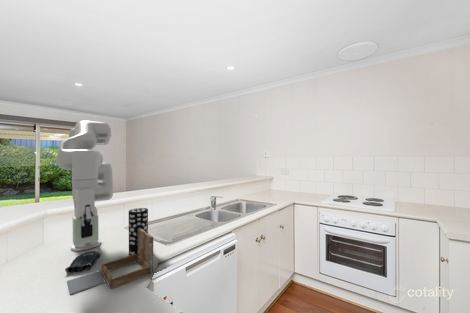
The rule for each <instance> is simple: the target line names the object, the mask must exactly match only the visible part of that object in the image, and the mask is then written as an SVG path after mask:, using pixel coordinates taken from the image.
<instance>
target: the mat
mask: <svg viewBox="0 0 470 313" xmlns="http://www.w3.org/2000/svg"><path fill="white" fill-rule="evenodd" d="M66 283H67V289H68V293H69V296H72V295H74V294H77V293H81V292H84V291H86V290H89V289H92V288H94V287H95V288H96V287H98V286H100V285H104V284H106V280H105V279H104V276H103V275H102V272H101V271H100V270H97V271H94V272H91V273H88V274H85V275H81V276H79V277H75V278H72V279H69V280H67V281H66Z"/></svg>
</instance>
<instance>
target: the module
mask: <svg viewBox="0 0 470 313" xmlns="http://www.w3.org/2000/svg"><path fill="white" fill-rule="evenodd" d="M83 216H84V217H86V215H83ZM84 221H85V219H84ZM81 226H82V217H80V218H79V219H78V218H77V217H76V216H75V215H73V216H72V243H73V244H74V246H77V245H81V244H85V243H90V242H94V241H98V239H99V215H98V213H97V214H96V213H94V216H92V233H93V235H92V236H90V237H86V238H81ZM73 244H72V245H73Z"/></svg>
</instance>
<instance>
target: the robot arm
mask: <svg viewBox="0 0 470 313" xmlns="http://www.w3.org/2000/svg"><path fill="white" fill-rule="evenodd" d="M111 136H112V129H111V127H110V125H109V124H108V123H107V122H103V121H94V120H93V121H92V120H81V121H78V122H77V123H76V124H75V125H74V128H70V130H69V132H68V138H66V139H65V140H63V141H62V142H60V144H59V146H58V148H57V153H56V164H57V166H58V168H60V169H61V170H64V171H65V170H66V171H69V170H71V178H72V179H71V183H72V184H71V187H72V188H71V195H72V196H71V197H72V202H73V206H74V208H73V209H74V216H76V217H77V218H78V219H79V218H80V217H82V226H81V238H86V237H90V236H92V235H93V233H92V216H94V213H96V214H97V215H98V208H97V207H96V204H95V202H104V201H109V200H111V199H112V198H113V196H114V183H113V178H114V177H113V167H112V165H111V164H110V163H109V162H105V161H104V162H103V160H104V158H103V154H102V153H101V152H100V151H99V150H96V149H95V148H96V146H97V145H98V146H106V145H108V144H109V143H110V139H111ZM98 181H101V182H98ZM83 215H86V217H84V216H83ZM84 219H85V221H84ZM101 244H102V240H101V239H100V238H98V241H94V242H90V243H85V244H81V245H77V246H74V244H71V246H70V249H71V250H72V251H74V252H81V251H82V252H83V251H87V250H91V249H94V248H96V247H99V246H100V245H101Z"/></svg>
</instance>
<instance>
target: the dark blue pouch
mask: <svg viewBox="0 0 470 313" xmlns="http://www.w3.org/2000/svg"><path fill="white" fill-rule="evenodd" d="M101 255H102V254H101V253H100V251H97V250H90V251H86V252H83V253H80V254H78V255H77V256H76V257H75V258H74V259H73V260H72V262H71V263H70V265H69V266H67V267H66V268H65V269H64V270H65V272H66V275H68V274H70V273H73V270H74V268H75V267H76V268H80V269H78V270H75V271H74V273H79V272H83V271H85V270H86V271H89V270H91V269H92V267H93V266H94V264H95V263H96V262H97V261H98V259H99V258H100V257H101ZM85 266H87V267H88V268H87V267H85ZM83 267H85V268H83Z"/></svg>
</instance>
